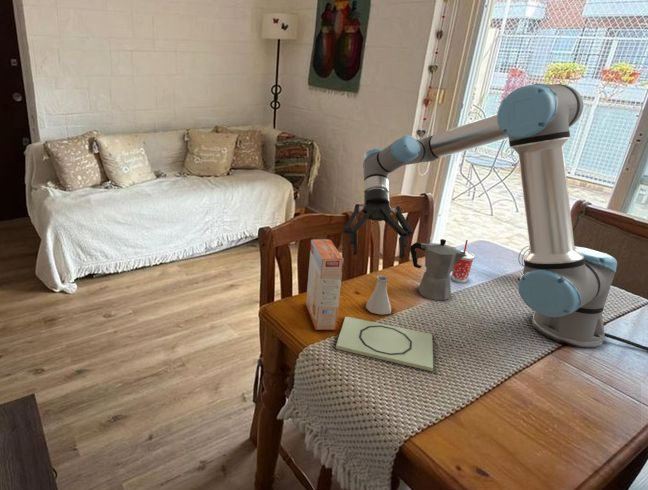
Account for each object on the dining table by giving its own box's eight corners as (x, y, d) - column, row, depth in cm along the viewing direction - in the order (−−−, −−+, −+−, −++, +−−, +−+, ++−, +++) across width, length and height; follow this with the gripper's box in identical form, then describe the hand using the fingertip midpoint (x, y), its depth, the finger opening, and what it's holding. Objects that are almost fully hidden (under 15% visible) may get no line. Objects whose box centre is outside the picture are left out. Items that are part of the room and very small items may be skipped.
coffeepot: (458, 292, 137) (469, 238, 131) (456, 305, 129) (467, 249, 123) (406, 280, 144) (414, 229, 138) (401, 292, 136) (409, 238, 131)
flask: (388, 303, 130) (392, 272, 127) (394, 316, 123) (399, 284, 120) (363, 302, 131) (366, 271, 127) (368, 314, 124) (372, 283, 121)
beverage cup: (450, 273, 150) (458, 235, 145) (471, 278, 146) (478, 239, 142) (447, 280, 145) (454, 240, 140) (468, 285, 141) (476, 245, 137)
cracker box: (337, 331, 116) (344, 258, 109) (314, 331, 116) (320, 258, 109) (325, 304, 129) (331, 238, 122) (305, 304, 129) (310, 238, 122)
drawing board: (431, 337, 113) (432, 333, 113) (432, 371, 100) (433, 367, 100) (345, 319, 122) (345, 315, 121) (335, 348, 108) (336, 345, 108)
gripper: (414, 201, 142) (418, 262, 133) (335, 197, 146) (334, 256, 136) (420, 189, 135) (426, 253, 126) (337, 185, 139) (337, 247, 130)
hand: (378, 255), depth 131 cm, fingers open, 13 cm apart
